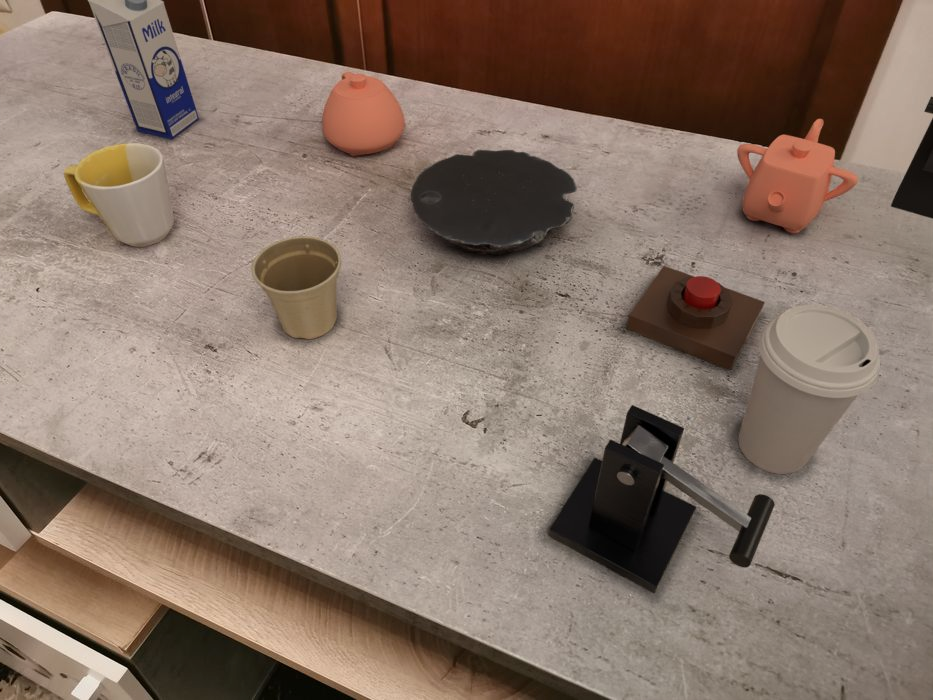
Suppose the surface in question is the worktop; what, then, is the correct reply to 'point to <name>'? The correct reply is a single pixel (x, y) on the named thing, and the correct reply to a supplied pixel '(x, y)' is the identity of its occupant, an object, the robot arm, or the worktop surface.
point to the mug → (125, 191)
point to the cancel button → (702, 292)
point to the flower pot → (300, 283)
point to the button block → (695, 319)
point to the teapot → (791, 180)
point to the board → (493, 200)
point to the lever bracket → (627, 507)
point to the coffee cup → (805, 384)
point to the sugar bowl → (362, 115)
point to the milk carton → (147, 64)
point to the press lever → (709, 498)
